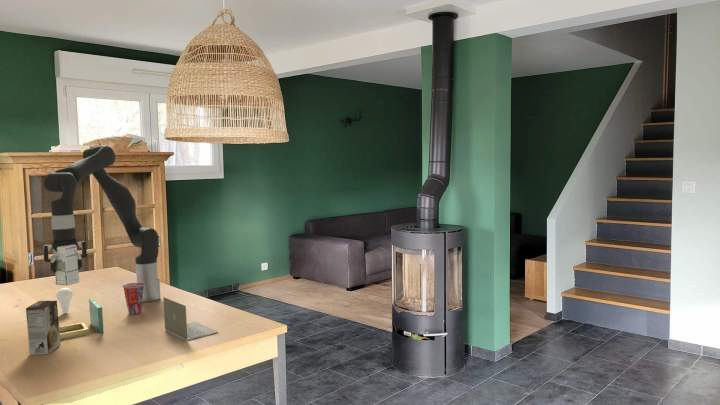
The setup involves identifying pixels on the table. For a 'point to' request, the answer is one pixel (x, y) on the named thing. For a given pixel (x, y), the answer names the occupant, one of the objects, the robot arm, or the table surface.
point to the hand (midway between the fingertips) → (66, 270)
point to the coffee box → (43, 327)
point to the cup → (134, 297)
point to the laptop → (182, 322)
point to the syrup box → (66, 266)
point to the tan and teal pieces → (95, 320)
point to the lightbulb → (64, 298)
